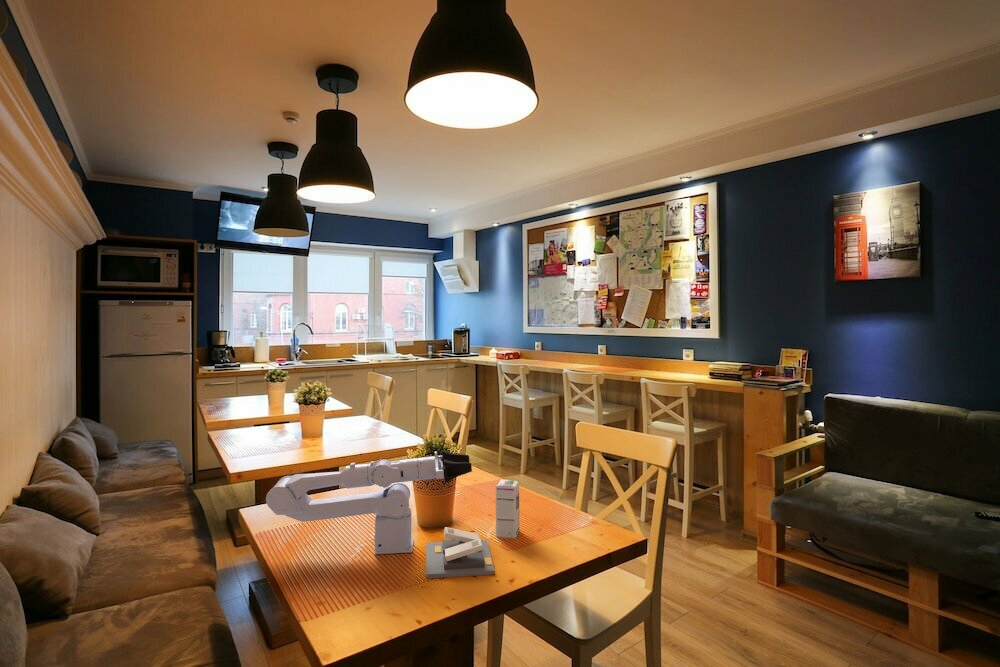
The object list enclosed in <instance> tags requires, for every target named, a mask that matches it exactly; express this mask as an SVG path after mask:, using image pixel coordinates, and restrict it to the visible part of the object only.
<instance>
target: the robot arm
mask: <svg viewBox="0 0 1000 667" xmlns="http://www.w3.org/2000/svg"><path fill="white" fill-rule="evenodd" d="M441 453H442V455H438V451H434V456H433V455H431V456H422V457H414V458H405V459H400V460H389V459H387V458H385V459H384V458H380V459H378V460H376V462H375V461H374V460H373V461H370V462H369V463H361V464H356V462H351V463H350V464H349V465H347V466H345V467H344V468H343V469H342V470H340V471H329V472H327V471H325V472H315V473H296V474H292V475H286V476H283V477H281V478H280V479H279V480H278V481H277V483H276V484H275V485H274V486H273V487H272V488H271V489H270V490H269V491H268V492H267V493H266V496H265V503H266V505H267V507H268V508H269V509H270V510H271V511H272V512H273V514H275V515H277V516H285V517H289V518H291V519H293V520H295V521H298V522H301V523H302V522H303V523H307V522H313V521H314V522H315V521H321V520H322V521H323V520H331V519H339V518H347V517H354V516H361V515H370V514H375V519H374V539H373V540H374V542H373V544H374V554H375V555H385V554H387V555H388V554H389V555H390V554H402V553H413V548H414V538H413V537H412V509H411V508H410V498H411V490H410V488H409V487H408V486H407V485H406V484H405V483H407V482H414V481H424V480H432V479H436V480H441V479H444V483H445V484H447V483H449V482H451V481H453V480H454V479H456V478H458V477H460V476H463V475H467V474H469V473H472V472H473V468H472V462H471V461H470V455H469V454H461V453H456V452H455V453H453V452H450V451H448V450H444V449H443V450H441ZM373 485H376V486H378V487H380V489H377V490H376V491H373V492H364V493H359V494H357V493H356V494H349V495H341V496H340V495H339V496H332V497H324V498H315V499H312V498H311V497H310V495H308V494H307V493H308V492H309V491H311V490H317V489H322V488H329V487H336V486H343V487H344V488H345V489H348V490H349V489H357V488H365V487H372V486H373ZM381 487H382V488H381Z"/></svg>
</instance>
